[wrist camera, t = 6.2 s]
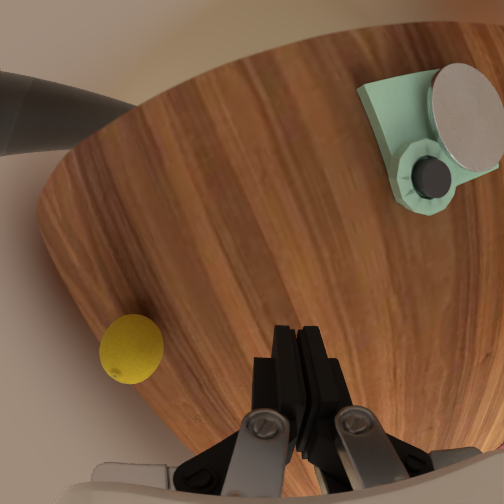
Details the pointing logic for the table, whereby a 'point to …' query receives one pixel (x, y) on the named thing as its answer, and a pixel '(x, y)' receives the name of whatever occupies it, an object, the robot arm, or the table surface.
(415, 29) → the table surface
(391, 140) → the scale
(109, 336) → the lemon
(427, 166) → the tare button
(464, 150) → the scale weighing pan
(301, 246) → the table surface
